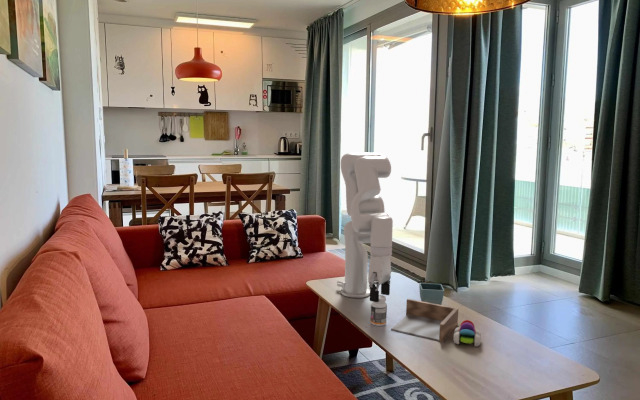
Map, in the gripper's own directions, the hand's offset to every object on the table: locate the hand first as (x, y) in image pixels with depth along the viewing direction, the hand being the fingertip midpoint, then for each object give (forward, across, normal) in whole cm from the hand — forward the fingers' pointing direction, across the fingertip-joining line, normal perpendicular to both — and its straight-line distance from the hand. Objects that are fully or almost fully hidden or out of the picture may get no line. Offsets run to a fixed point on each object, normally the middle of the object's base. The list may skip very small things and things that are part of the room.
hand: (379, 297), depth 176 cm
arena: (+10, -7, +14) cm, 19 cm away
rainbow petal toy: (+11, -2, +31) cm, 33 cm away
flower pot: (+10, -27, +10) cm, 30 cm away
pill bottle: (+10, -1, -1) cm, 10 cm away
